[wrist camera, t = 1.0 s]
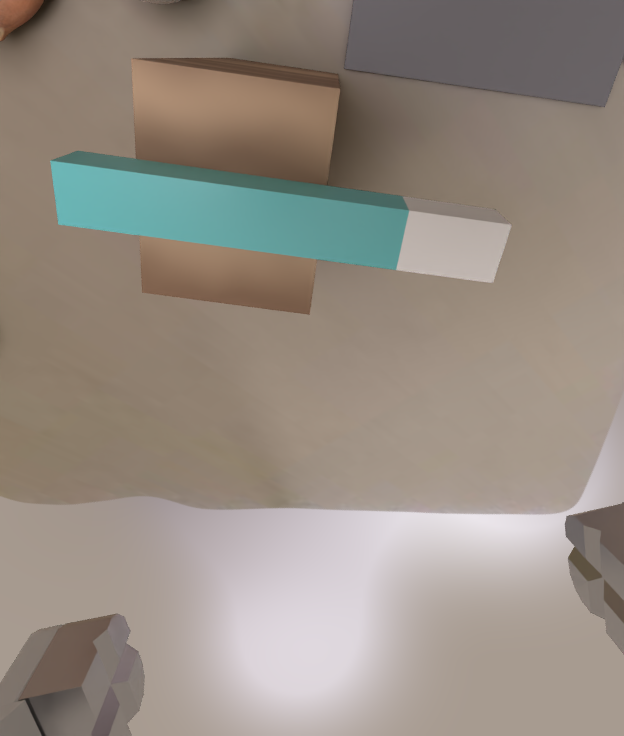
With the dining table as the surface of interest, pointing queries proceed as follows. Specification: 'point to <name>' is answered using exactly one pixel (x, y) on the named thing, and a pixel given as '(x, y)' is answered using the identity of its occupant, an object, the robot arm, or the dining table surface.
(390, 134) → the dining table surface
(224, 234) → the block
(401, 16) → the mat
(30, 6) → the ceramic jug
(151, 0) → the cup
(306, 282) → the tall stand
